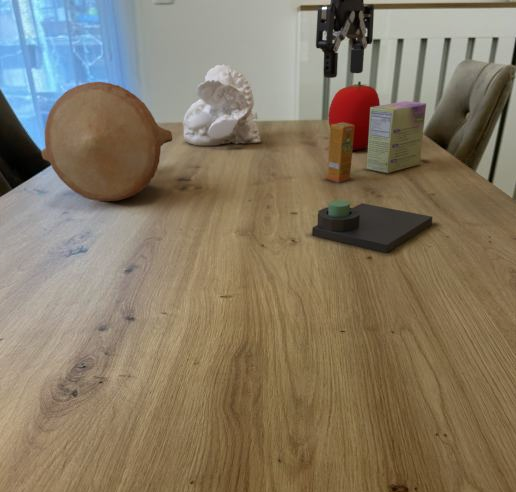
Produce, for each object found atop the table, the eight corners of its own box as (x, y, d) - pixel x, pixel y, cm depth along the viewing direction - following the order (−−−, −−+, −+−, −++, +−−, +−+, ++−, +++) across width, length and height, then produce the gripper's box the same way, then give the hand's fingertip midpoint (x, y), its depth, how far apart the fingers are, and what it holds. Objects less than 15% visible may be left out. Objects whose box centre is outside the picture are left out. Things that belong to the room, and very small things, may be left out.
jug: (4, 141, 85) (53, 130, 112) (94, 234, 92) (120, 203, 119) (95, 50, 81) (123, 62, 108) (183, 154, 88) (189, 140, 115)
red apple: (365, 156, 121) (370, 85, 114) (318, 151, 126) (320, 83, 119) (385, 145, 130) (391, 79, 123) (341, 141, 135) (344, 77, 128)
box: (397, 160, 117) (403, 100, 111) (420, 165, 113) (427, 102, 107) (365, 169, 111) (369, 106, 105) (387, 174, 107) (393, 109, 101)
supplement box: (339, 183, 103) (342, 126, 98) (326, 179, 105) (328, 124, 100) (351, 179, 105) (355, 123, 100) (338, 176, 107) (341, 121, 102)
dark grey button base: (358, 209, 89) (360, 191, 88) (431, 224, 82) (434, 204, 81) (309, 234, 80) (309, 214, 78) (386, 253, 73) (388, 231, 72)
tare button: (335, 210, 81) (336, 198, 80) (353, 214, 79) (353, 202, 78) (324, 216, 79) (324, 204, 78) (342, 219, 77) (342, 207, 76)
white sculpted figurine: (171, 98, 143) (233, 51, 135) (217, 164, 152) (277, 123, 144) (151, 114, 128) (219, 62, 120) (203, 186, 136) (269, 142, 128)
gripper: (346, -42, 81) (340, 80, 89) (392, -38, 90) (382, 72, 98) (304, -38, 85) (302, 78, 93) (352, -35, 94) (346, 70, 103)
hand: (343, 75), depth 96 cm, fingers open, 8 cm apart
